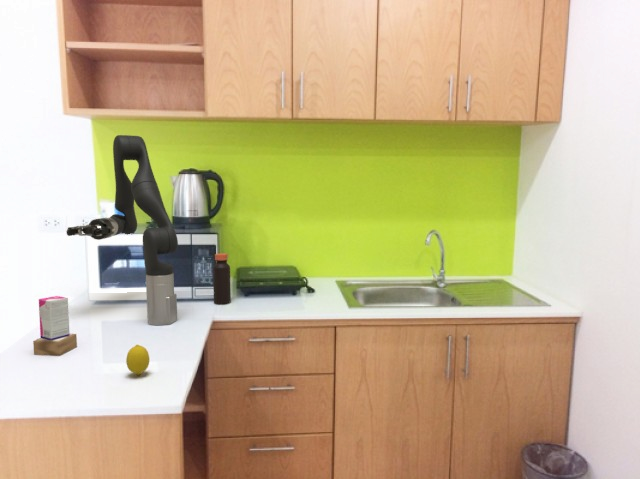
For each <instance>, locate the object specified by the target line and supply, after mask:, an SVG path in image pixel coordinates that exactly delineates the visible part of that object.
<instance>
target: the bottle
mask: <svg viewBox="0 0 640 479" xmlns="http://www.w3.org/2000/svg"><path fill="white" fill-rule="evenodd" d="M228 257H229V256H228V253H225V252H223V253H216V254H214V260H215V264H214V265H213V266H212V276H213V277H212V281H213V282H212V283H213V285H212V286H213V303H214V305H228V304H230V303H231V301H232V299H231V296H232V293H231V266H230V265H229V264H228Z"/></svg>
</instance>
